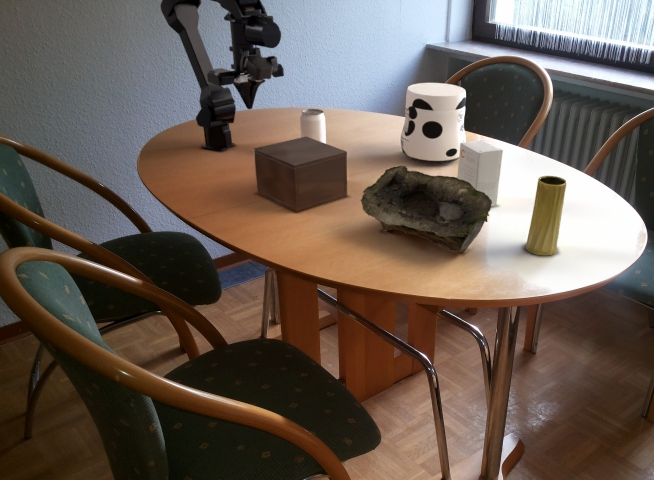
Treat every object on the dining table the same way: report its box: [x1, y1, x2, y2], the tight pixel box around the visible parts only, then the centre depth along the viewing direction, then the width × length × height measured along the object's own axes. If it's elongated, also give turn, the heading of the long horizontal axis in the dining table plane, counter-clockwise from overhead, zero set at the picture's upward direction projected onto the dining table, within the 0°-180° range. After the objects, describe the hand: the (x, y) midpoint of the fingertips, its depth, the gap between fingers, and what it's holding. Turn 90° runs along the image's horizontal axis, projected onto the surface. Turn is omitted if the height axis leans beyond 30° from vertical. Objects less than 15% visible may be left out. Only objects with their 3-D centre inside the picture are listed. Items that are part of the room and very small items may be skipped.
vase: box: [525, 175, 568, 256], centre depth 124 cm, size 6×6×14 cm
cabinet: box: [253, 137, 348, 213], centre depth 145 cm, size 15×15×11 cm
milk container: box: [400, 82, 467, 164], centre depth 169 cm, size 17×17×18 cm
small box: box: [456, 139, 504, 207], centre depth 144 cm, size 8×6×13 cm
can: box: [299, 108, 327, 144], centre depth 168 cm, size 6×6×12 cm
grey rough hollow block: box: [360, 165, 492, 254], centre depth 127 cm, size 28×13×15 cm
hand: (249, 108), depth 162 cm, fingers closed
